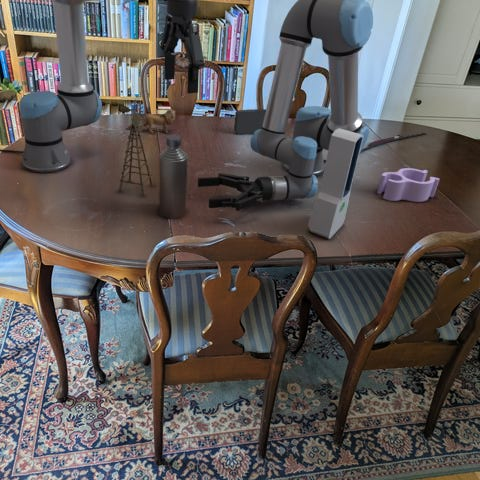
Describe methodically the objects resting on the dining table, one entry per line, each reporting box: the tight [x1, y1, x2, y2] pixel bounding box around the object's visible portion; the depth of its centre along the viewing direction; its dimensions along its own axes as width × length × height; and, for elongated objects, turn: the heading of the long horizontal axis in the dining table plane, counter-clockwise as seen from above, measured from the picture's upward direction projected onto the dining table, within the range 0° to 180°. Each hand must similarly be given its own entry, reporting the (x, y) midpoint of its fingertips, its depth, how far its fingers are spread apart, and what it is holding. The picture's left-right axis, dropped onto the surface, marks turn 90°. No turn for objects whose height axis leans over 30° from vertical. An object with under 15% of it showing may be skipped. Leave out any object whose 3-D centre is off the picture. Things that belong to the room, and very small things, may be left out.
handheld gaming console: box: [233, 108, 266, 135], centre depth 202 cm, size 23×3×10 cm, turn 108°
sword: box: [368, 134, 409, 147], centre depth 212 cm, size 31×3×1 cm, turn 126°
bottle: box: [158, 146, 189, 219], centre depth 134 cm, size 8×8×23 cm
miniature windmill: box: [118, 95, 154, 197], centre depth 142 cm, size 9×8×30 cm
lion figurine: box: [142, 109, 176, 134], centre depth 192 cm, size 15×5×9 cm, turn 110°
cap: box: [166, 134, 182, 148], centre depth 128 cm, size 4×4×2 cm
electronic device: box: [307, 128, 364, 240], centre depth 132 cm, size 12×8×30 cm, turn 148°
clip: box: [376, 167, 440, 203], centre depth 164 cm, size 20×12×7 cm, turn 109°
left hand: (180, 85), depth 126 cm, fingers open, 13 cm apart
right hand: (203, 192), depth 139 cm, fingers open, 13 cm apart
